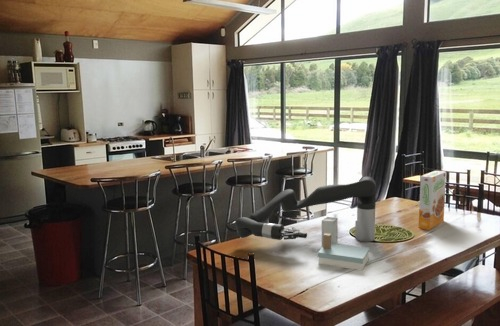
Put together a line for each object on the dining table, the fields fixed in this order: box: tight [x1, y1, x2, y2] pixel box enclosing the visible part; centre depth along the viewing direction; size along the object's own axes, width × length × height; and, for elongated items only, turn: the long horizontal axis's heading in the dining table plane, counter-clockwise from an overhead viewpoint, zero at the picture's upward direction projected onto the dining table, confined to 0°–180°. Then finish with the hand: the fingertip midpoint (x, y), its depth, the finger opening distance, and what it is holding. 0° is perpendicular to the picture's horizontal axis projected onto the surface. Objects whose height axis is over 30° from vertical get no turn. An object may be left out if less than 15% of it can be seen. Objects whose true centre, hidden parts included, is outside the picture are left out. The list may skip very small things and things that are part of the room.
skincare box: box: [321, 216, 339, 248], centre depth 227 cm, size 8×6×15 cm
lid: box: [317, 233, 371, 264], centre depth 208 cm, size 20×16×9 cm
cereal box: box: [418, 170, 447, 231], centre depth 262 cm, size 22×6×30 cm, turn 138°
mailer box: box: [318, 252, 370, 271], centre depth 209 cm, size 20×14×4 cm
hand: (306, 235), depth 216 cm, fingers closed
